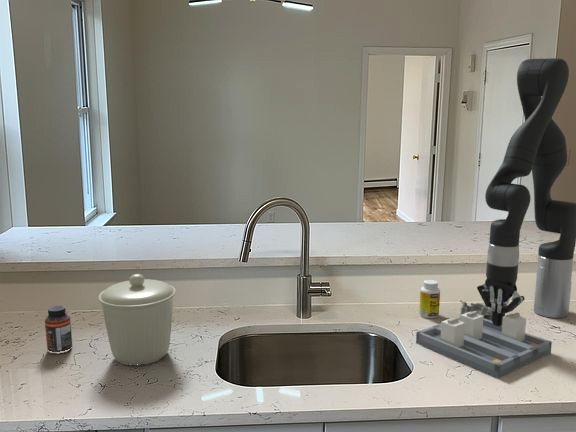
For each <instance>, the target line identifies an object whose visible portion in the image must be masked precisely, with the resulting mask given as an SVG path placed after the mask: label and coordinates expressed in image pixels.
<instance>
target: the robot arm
mask: <svg viewBox="0 0 576 432" xmlns="http://www.w3.org/2000/svg"><path fill="white" fill-rule="evenodd" d="M569 75H570V69H569V66H568V63H567V61H566V60H565V59H563V58H559V57H558V58H557V57H554V58H551V57H550V58H529V59H525V60H523V61H522V62H520V64H519V66H518V69H517V73H516V85H517V90H518V92H517V93H518V96H519V100H520V105H521V108H522V112H523V117H524V121H523V123H522V124H521V125H520V126H519V127H518V128H517V129H516V130H515V132H514V133H513V134H512V136H511V137H510V139H509V142H508V145H507V148H506V151H505V154H504V157H503V160H502V163H501V165H500V167H499V168H498V170H497V171H496V173H495V175H494V176H493V178H491V180H490V183H489V184H488V185H487V188H486V190H485V196H484V199H485V203H486V205H487V207H489V208H490V209H492V210H496V211H501V212H507V217H506V218H503V219H500V218H499V219H495V220H493V221H492V222H491V224H490V229H489V242H488V243H489V244H488V248H487V255H486V256H487V257H486V258H487V259H486V270H485V271H486V272H485V277H486V279H485V281H484V283H483V284H480V285H478V286H477V287H476V289H477V291H478V293H479V295H480V297H481V300H482V301H483V303H485V305H486V307H490V308H491V310H492V322H493V325H495V326H498V327H499V326H502V322H503V316H506V314H508V313H510V312H513V311H514V310H515V309H516V308H517V307H518V306H520V305H521V303H523V302H524V301H525V296H524V295H521V294H520V293H519V292H518V287H517V284H516V283H517V281H518V273H519V271H518V270H519V261H520V236H521V235H520V234H521V229H522V225H523V223H524V219H525V216H526V214H527V212H528V209H529V207H530V205H531V204H530V203H531V201H532V199H531V193H530V190H529V189H528V187H527V186H525V185H523V184H520V183H519V184H518V183H513V181H514V180H515V179H518V178H524V177H528V176H529V175H530V174H532V175H531V176H532V181H533V182H532V183H533V197H534V198H533V200H534V201H533V203H534V204H533V205H534V208H533V209H534V220H535V225H536V227H537V229H539V230H540V231H543V232H547V233H554V234H559V238H558V240H555V241H549V242H543V243H541V244H539V245H538V246H539V247H538V252H537V253H538V254H537V266H536V276H535V277H536V280H535V292H534V300H533V301H534V302H533V312H534V313H535V314H537V315H539V316H541V317H545V318H553V319H563V318H566V317H568V316H569V312H570V303H571V302H570V301H571V295H572V294H571V293H572V277H573V265H574V253H575V249H576V202H573V201H564V200H558V199H557V200H556V199H552V197H551V190H552V187H553V185H554V184H555V182H556V180H557V179H558V178H559V177H560V175H561V174H562V173H563V171H564V169H565V167H566V165H567V163H568V150H567V141H566V136H565V135H564V133H563V131H562V130H561V128H560V127H559V126H558V124H557V123H556V121H554V119H553V116H554V114H555V112H556V110H557V108H558V106H559V103H560V101H561V99H562V98H563V95H564V93H565V90H566V87H567V85H568V81H569ZM510 299H511V302H510ZM509 302H510V303H509Z"/></svg>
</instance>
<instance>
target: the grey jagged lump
mask: <svg viewBox="0 0 576 432" xmlns="http://www.w3.org/2000/svg"><path fill="white" fill-rule="evenodd" d="M459 302H461V304H462V306H461V307H460V315H462V314H465V313H468V312H473V311H477V314H479V315H482V316H484V317H483V318H484V319H487V320H490V321H492V310H491V308H490V307H486V305H485V303H484V302H481V303H479V302H477V303H473V302H472V303H471V304H470V305H468V304H467V302H466V301H463V300H462V299H461V300H459Z"/></svg>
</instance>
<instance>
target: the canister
mask: <svg viewBox="0 0 576 432" xmlns="http://www.w3.org/2000/svg"><path fill="white" fill-rule="evenodd" d="M176 293H177V290H176V288H175V287H174V286H173V285H171V284H169V283H167V282H164V281H163V280H157V279H146V278H145V277H144V275H142V274H141V273H140V274H139V273H135V274H132V275H131V276H130V277H129V279H128V280H125V281H121V282H118V283H115V284H112V285H110V286H108V287H107V288H106V289H104V290H103V291H101V292H100V293H99V295H98V297H97V299H98V301H99V302H100V304H101V306H102V312H103V313H102V314H103V316H104V317H103V318H104V323H105V328H106V334H107V338H108V342H109V347H110V351H111V353H112V356H113V358H114V359H115V360H116V361H117V362H118V363H120V362H121V363H120V364H122V363H124V364H123V365H125V364H131V365H130V366H132V365H134V366H136V365H137V364H138V365H137V366H141V365H140V364H145V365H148V364H147V363H150V364H153V363H156V362H158V361H160V360H161V359H162V357H163V358H165V356H166V355H167V353H168V351H169V348H170V344H171V335H172V322H173V308H174V307H173V305H174V297H175V295H176ZM159 359H160V360H159ZM157 360H158V361H157ZM155 361H156V362H155ZM152 362H153V363H152Z"/></svg>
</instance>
